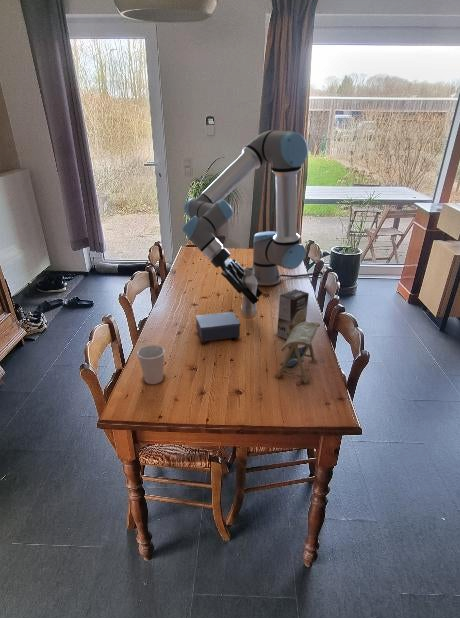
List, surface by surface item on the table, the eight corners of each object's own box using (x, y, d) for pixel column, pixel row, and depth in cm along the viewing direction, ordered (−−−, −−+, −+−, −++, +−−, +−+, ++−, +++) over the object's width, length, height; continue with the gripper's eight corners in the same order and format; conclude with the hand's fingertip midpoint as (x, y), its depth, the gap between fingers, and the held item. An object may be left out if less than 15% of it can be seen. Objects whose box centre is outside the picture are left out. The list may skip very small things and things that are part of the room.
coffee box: (289, 341, 158) (293, 300, 149) (276, 335, 162) (278, 295, 153) (305, 333, 163) (309, 293, 155) (291, 327, 167) (295, 288, 159)
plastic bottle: (255, 321, 169) (257, 272, 159) (238, 320, 171) (239, 271, 160) (258, 314, 175) (259, 266, 164) (241, 313, 176) (242, 265, 165)
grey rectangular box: (233, 328, 167) (233, 311, 163) (240, 340, 158) (240, 323, 154) (196, 332, 164) (195, 315, 160) (201, 345, 155) (200, 327, 151)
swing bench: (288, 356, 149) (292, 317, 141) (316, 361, 146) (321, 321, 138) (276, 378, 137) (279, 336, 129) (306, 384, 134) (311, 342, 126)
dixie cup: (144, 388, 132) (140, 360, 126) (137, 375, 138) (133, 347, 133) (170, 382, 135) (168, 355, 129) (162, 369, 141) (160, 342, 136)
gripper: (217, 252, 172) (256, 295, 177) (202, 268, 157) (245, 314, 162) (230, 240, 168) (270, 284, 173) (215, 255, 153) (259, 302, 158)
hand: (258, 298), depth 167 cm, fingers closed on plastic bottle, 6 cm apart
